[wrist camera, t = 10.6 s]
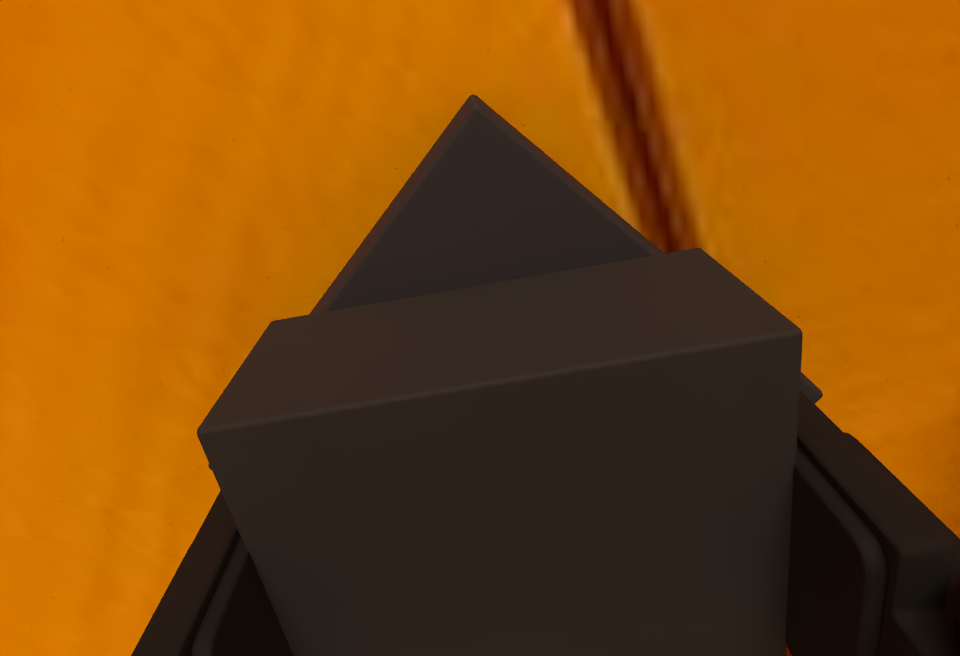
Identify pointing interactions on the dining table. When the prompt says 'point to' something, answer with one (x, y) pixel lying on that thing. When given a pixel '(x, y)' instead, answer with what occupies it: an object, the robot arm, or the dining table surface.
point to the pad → (523, 467)
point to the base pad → (485, 222)
